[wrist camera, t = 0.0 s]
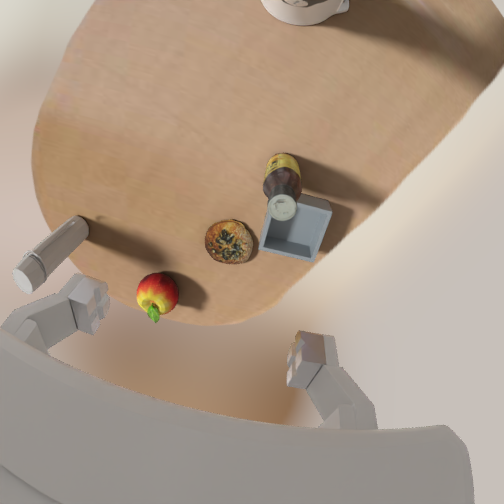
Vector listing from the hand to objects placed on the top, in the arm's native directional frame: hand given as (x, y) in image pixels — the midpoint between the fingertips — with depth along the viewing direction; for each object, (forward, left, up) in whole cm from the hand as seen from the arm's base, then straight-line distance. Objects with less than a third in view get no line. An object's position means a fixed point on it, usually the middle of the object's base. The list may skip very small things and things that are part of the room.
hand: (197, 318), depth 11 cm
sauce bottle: (+5, +5, -48) cm, 49 cm away
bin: (+15, +10, -48) cm, 51 cm away
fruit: (+41, -17, -48) cm, 66 cm away
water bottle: (+29, -42, -48) cm, 70 cm away
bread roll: (+24, -2, -48) cm, 54 cm away
